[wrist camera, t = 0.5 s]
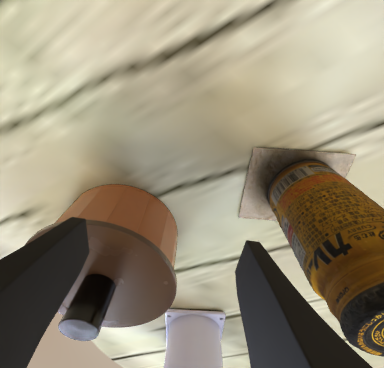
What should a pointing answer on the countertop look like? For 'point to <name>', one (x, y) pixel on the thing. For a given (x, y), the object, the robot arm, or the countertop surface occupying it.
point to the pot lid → (116, 282)
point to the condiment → (326, 233)
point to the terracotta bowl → (129, 214)
